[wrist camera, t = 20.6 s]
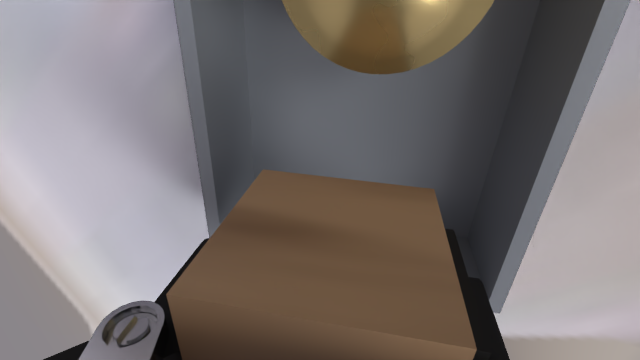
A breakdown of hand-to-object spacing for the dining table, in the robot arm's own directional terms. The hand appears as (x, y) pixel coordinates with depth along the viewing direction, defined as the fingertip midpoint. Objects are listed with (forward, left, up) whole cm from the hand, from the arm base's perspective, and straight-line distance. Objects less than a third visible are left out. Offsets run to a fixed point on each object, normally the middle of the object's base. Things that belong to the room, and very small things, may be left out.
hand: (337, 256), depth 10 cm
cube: (0, 0, -1) cm, 1 cm away
